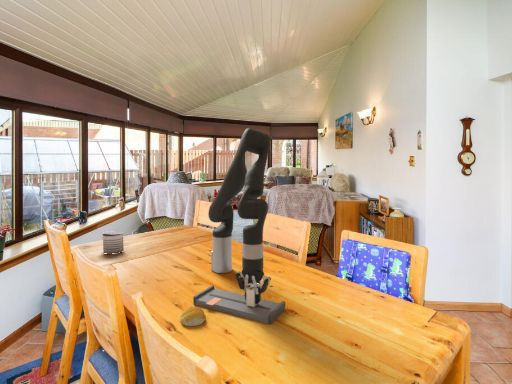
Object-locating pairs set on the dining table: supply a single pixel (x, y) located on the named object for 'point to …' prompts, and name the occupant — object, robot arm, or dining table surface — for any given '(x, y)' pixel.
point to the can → (112, 242)
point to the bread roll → (192, 316)
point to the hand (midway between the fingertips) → (252, 301)
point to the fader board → (239, 305)
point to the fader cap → (250, 296)
